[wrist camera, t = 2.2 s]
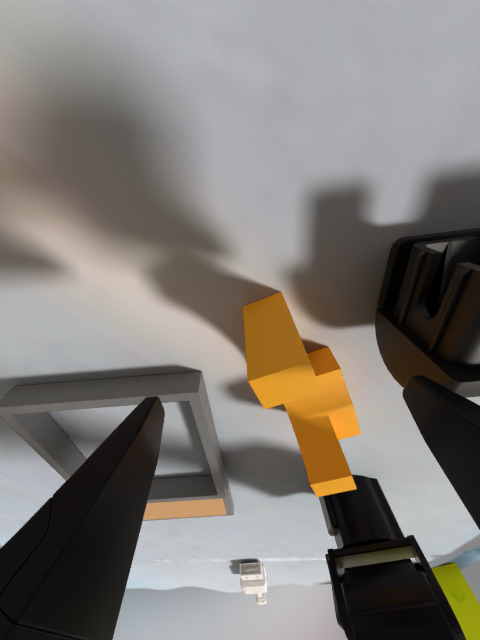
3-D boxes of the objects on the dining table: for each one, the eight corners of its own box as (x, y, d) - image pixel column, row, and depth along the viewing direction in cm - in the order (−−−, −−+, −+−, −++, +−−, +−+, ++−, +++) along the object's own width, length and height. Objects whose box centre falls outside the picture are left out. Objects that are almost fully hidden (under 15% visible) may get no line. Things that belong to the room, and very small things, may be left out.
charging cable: (252, 591, 60) (253, 611, 58) (237, 557, 44) (237, 582, 41) (270, 590, 60) (272, 609, 57) (262, 556, 44) (264, 580, 41)
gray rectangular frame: (201, 371, 17) (198, 392, 16) (226, 477, 26) (226, 498, 25) (14, 386, 18) (-9, 408, 16) (102, 485, 27) (92, 506, 25)
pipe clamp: (343, 398, 20) (385, 483, 14) (295, 412, 21) (317, 497, 15) (308, 279, 14) (356, 346, 8) (242, 305, 15) (248, 381, 9)
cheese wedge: (359, 575, 53) (399, 700, 40) (455, 562, 49) (532, 696, 36) (369, 591, 62) (404, 696, 50) (450, 581, 58) (509, 692, 46)
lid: (227, 479, 27) (227, 491, 26) (233, 505, 30) (233, 516, 29) (104, 488, 27) (99, 499, 26) (125, 512, 31) (121, 523, 30)
